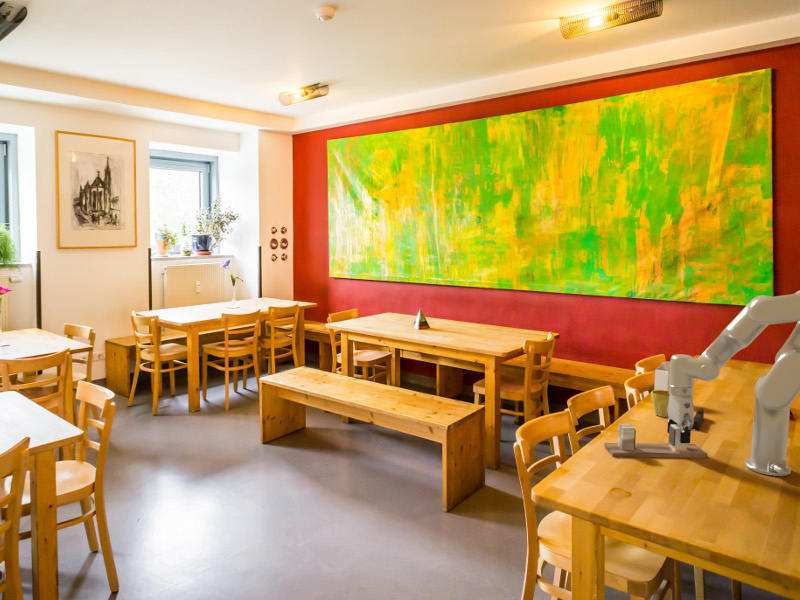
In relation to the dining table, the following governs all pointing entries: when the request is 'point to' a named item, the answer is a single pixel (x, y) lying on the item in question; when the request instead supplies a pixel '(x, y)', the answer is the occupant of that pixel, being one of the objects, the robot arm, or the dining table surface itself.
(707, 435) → the dining table surface
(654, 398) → the plant pot
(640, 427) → the dining table surface
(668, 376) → the milk carton
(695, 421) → the hand tool
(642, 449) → the rail
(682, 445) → the block
